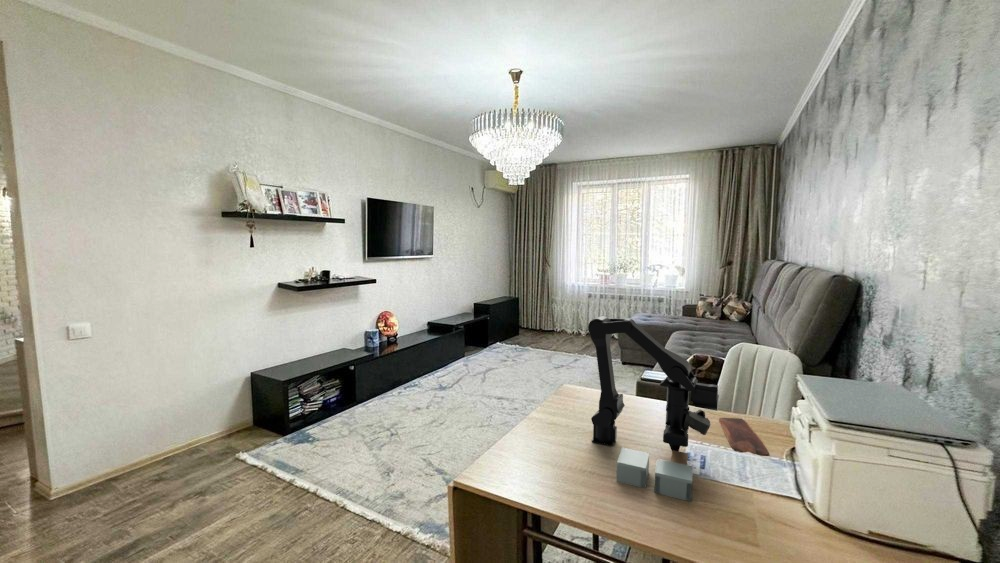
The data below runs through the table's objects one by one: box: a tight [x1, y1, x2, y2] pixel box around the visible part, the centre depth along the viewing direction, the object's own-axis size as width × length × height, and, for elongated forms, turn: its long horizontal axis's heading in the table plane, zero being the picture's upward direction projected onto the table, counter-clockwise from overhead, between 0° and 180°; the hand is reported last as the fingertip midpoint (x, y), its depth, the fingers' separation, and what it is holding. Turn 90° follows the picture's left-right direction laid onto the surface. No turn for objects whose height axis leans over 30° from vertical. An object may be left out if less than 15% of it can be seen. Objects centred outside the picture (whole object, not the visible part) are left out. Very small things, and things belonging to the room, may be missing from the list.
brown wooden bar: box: [670, 450, 689, 465], centre depth 107 cm, size 4×16×4 cm, turn 154°
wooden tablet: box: [718, 417, 770, 457], centre depth 131 cm, size 26×2×10 cm
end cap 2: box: [654, 458, 693, 503], centre depth 101 cm, size 8×7×5 cm
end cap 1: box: [616, 447, 650, 489], centre depth 107 cm, size 8×7×5 cm
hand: (675, 454), depth 116 cm, fingers closed
